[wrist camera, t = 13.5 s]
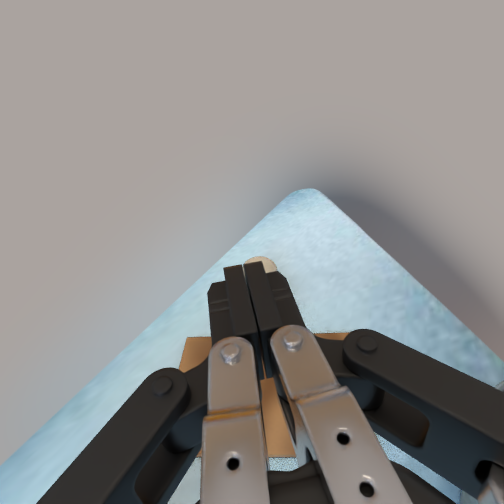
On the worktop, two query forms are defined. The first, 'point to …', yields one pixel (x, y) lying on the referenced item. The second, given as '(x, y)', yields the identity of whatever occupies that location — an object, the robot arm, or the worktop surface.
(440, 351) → the worktop surface
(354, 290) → the worktop surface
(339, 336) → the brown flat board
